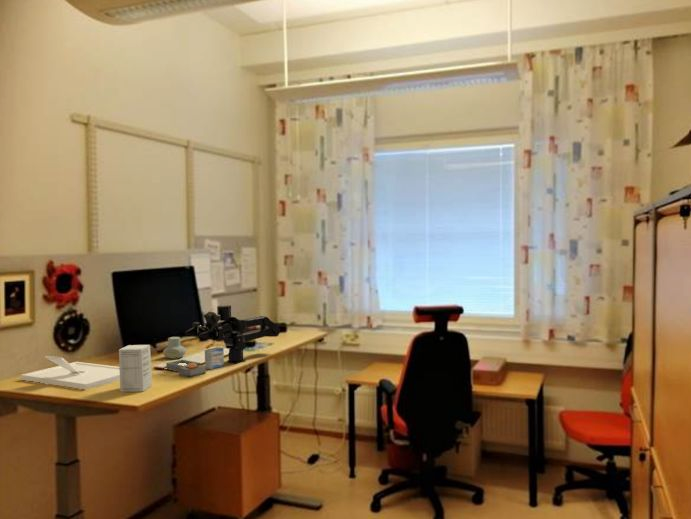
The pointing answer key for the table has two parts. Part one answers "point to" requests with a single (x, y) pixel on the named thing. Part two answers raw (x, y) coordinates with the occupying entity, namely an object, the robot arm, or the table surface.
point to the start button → (192, 365)
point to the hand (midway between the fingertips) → (192, 334)
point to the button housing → (192, 371)
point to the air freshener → (174, 348)
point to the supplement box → (135, 368)
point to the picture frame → (74, 374)
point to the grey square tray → (175, 366)
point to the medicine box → (214, 358)
